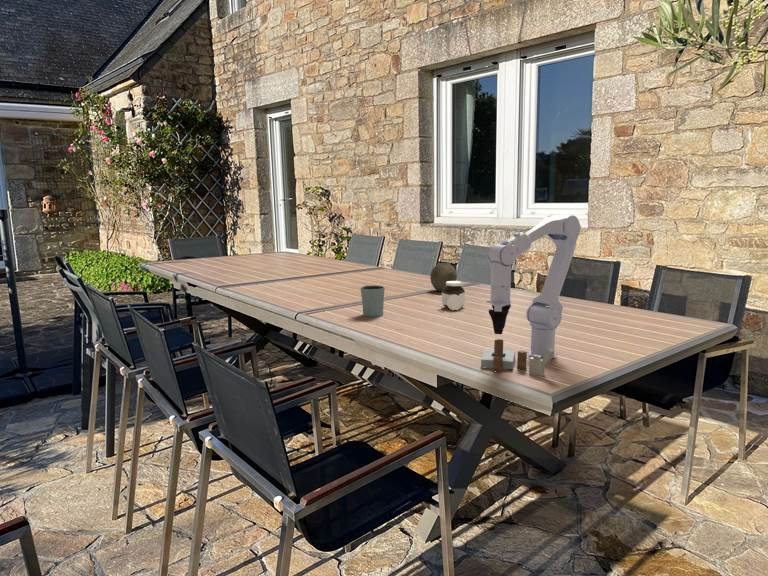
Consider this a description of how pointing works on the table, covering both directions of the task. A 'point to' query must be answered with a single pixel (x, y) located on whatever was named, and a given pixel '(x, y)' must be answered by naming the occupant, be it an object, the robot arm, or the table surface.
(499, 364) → the short dowel
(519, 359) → the medium dowel
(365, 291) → the grey-green cup
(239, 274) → the table surface
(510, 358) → the socket block
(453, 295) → the spread jar
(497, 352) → the tall dowel
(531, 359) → the lighter
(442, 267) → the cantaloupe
